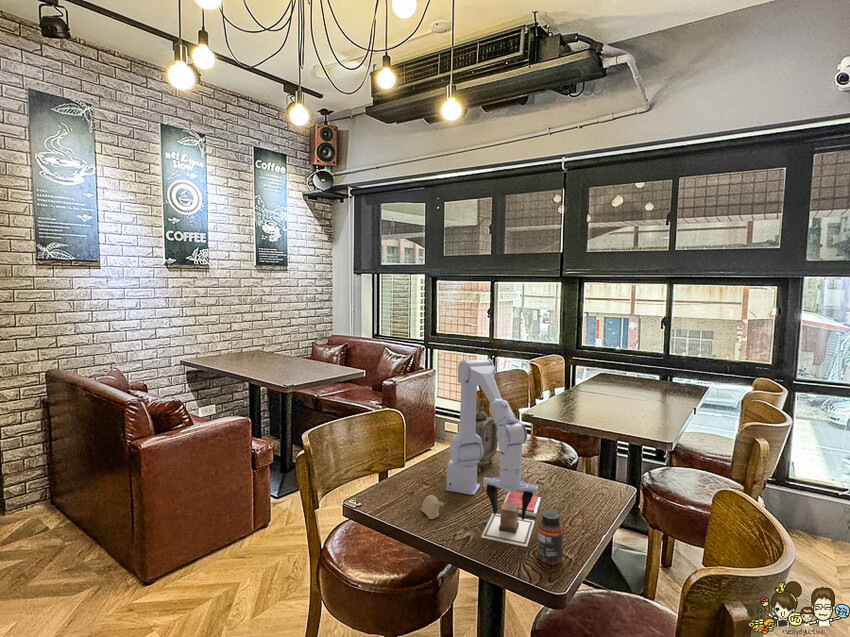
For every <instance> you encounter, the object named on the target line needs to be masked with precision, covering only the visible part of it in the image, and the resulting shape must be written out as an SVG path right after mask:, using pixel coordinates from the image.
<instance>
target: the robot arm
mask: <svg viewBox="0 0 850 637" xmlns="http://www.w3.org/2000/svg"><path fill="white" fill-rule="evenodd" d="M495 375H496V367H495V365H494V362H493V360H492V359H491V358H484V359H483V358H482V359H467V360H466V359H461V361H459V363H458V365H457V383H458V384H460V405H459V406H460V410H459V412H460V414H459V415H460V417H459V431H458V432H457V433H456V434H455V435H454V436H452V437H451V438H450V439H451V440H450V446H449V453H448V454H449V457H450V459H449V461H448V463H447V468H446V488H445V490H446V491H447V492H455V493H458V494H459V493H460V494H463V495H464V494H465V495H470V496H475V495H476V493H477V491H478V489H479V488H480V487H481V483H478V472H477V463H479V464H480V461H479V460H480V459H481V458H482V456H483V447H482V439H481V438H480V436H478V435H477V434H476V433H475V431H476V411H477V410H476V403H477V401H478V399H477V398H478V397H477V392H478V387H479V386H480V388H481V390H482V392H483V394H484V395H485V398H486V399H487V400H488V402H489V404H490V406H489V408H488V409H489V410H488V411H489V413H490V415H491V418H493V420H494V422H495V424H496V426H497V428H498V431H497V439H498V442H497V444H498V450H499V451H500V455H499V457H500V458H499V459H500V460H499V477H487V476H485V477H484V478H483V479H482V487H484V488H486V489H485V493H486V495H487V497H488V499H489V502H490V505H491V508H492V514H498V494H499V489H503V491H505V492H518V493H522V494H523V496H522V515H520V516H521V517H520V518H521V519H522V520H524V519H526V515H525V514H526V510H527V507H528V505H529V503H530V501H531V499H532V496H537V495H538V492H539V491H538V490H539V489H538V488H539V486H538V485H535V484H532V483H528V482H527V481H526V482H525V481H522V467H523V465H522V464H523V463H522V461H523V444H525V443H526V442H527V439H528V432H527V429H526V425H525V424H524V423H523V422H521V421H520V419H518V418H516V416H515V414H514V412H513V410H512V408H511V406H510V404H509V402H508V400H505V399H503V398H502V395H501V392H500V390H499V388H498V385H497V382H496V380H495Z"/></svg>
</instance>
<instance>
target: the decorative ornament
mask: <svg viewBox="0 0 850 637" xmlns="http://www.w3.org/2000/svg"><path fill="white" fill-rule="evenodd" d="M444 504H445V503H444V502H442V501H441V502H440V501H439V500H438V498H437V496H435V495H432V494H429V495H427V496H426V497H424V499H423V502H422V505H421V508H420V509H419V511H420V510H421V512H422V513H423V514H425V515H426V517H428V519H429V520H430V519H433V520H434V519H436V518H439V516H440V513H439V512H440V508H441V507H442V506H444Z"/></svg>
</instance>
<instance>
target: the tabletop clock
mask: <svg viewBox="0 0 850 637" xmlns="http://www.w3.org/2000/svg"><path fill="white" fill-rule="evenodd" d="M481 401H482V403H483V404H482V406H478V405H479V403H480V402H481ZM484 407H485V399H484V398H479V399H477V400H476V431H475V433H476V434H477V435H478V436H480V438H481V439H482V447H483V456H482V458H481V459H480V460H479V463H477V474H478V473H479V474H480V472H481V467H480V465H479V464H480V463H486V462H489V463H490V464H491V463H494V459H493V457H494V456H495V455H496V453H497V448H498V439H497V431H498V428H497V426H496V424H495V422H494V420H493V418H492V416H491V417H490V416H487V413H486V412H485V411H482V410H483V409H484Z"/></svg>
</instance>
